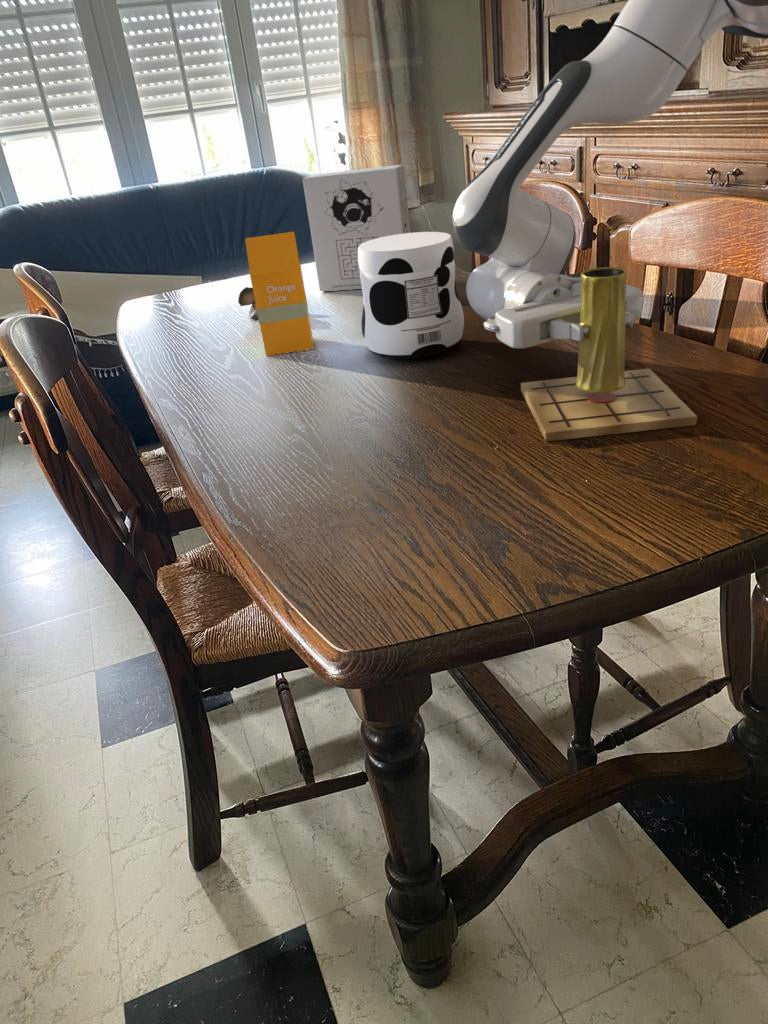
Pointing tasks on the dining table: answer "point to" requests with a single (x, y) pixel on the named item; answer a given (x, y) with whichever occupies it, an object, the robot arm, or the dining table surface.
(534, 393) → the board
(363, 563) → the dining table surface
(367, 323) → the milk container
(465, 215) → the robot arm
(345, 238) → the cereal box
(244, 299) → the eagle figurine
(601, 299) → the vase
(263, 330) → the orange juice
